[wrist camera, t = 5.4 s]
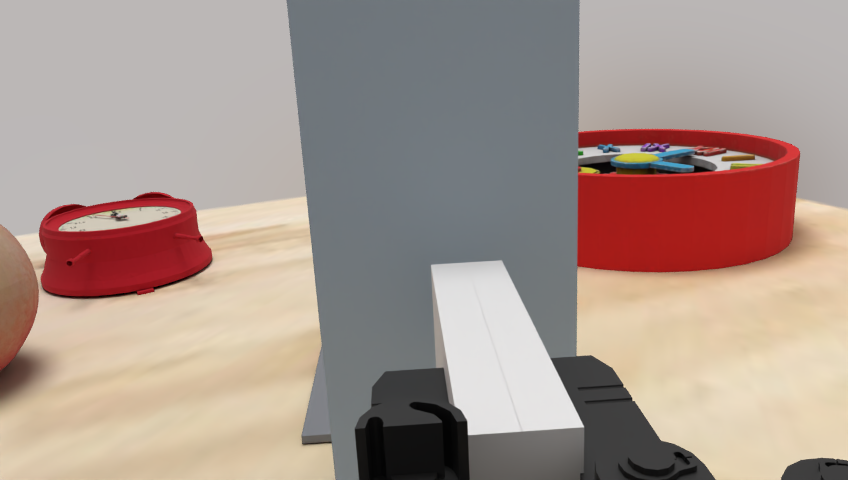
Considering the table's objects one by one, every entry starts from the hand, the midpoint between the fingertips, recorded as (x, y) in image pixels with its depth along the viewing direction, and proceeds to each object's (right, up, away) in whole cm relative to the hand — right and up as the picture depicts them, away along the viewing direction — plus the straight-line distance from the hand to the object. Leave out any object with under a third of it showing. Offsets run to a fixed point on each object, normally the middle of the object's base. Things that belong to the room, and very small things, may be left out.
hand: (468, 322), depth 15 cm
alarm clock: (-21, 0, +33) cm, 39 cm away
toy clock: (+14, +2, +35) cm, 38 cm away
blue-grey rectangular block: (0, -6, +6) cm, 9 cm away
